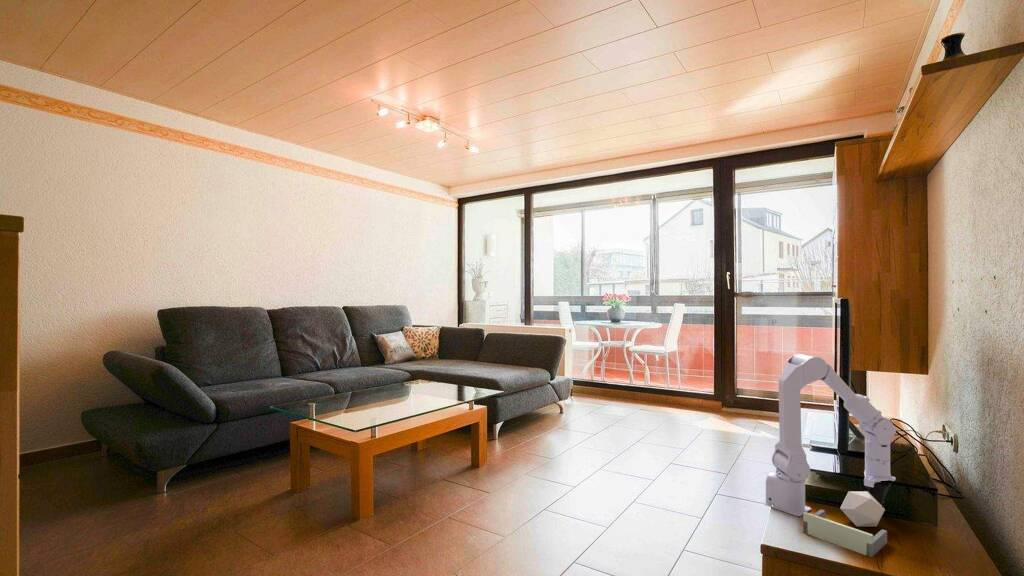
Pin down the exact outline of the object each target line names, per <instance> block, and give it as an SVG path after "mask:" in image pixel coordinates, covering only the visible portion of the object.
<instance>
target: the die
mask: <svg viewBox="0 0 1024 576" xmlns="http://www.w3.org/2000/svg"><path fill="white" fill-rule="evenodd" d="M839 508H840V510H841V511H842V513H843V514H845V515H846V517H847V518H848V519H849V520H850V521H851V522H852V524H854V526H856V527H859V528H860V527H863V528H864V527H875V528H876V527H877V526H878V524H879V522H880V520H881V519H882V517H883V514H884V512H885V511H886V509H885V508H884V506H883V507H882V506H881V505H880V504H879V503H878V502H877V500H876V499H875V498H874V497H873V496H872V495H871V494H870V493H869V492H868V490H867V491H866V490H864V491H853V490H852V491H847V494H846V496H845V498H844V500H843V501H842V504H841V506H840V507H839Z"/></svg>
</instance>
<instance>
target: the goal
mask: <svg viewBox="0 0 1024 576" xmlns="http://www.w3.org/2000/svg"><path fill="white" fill-rule="evenodd" d="M802 518H803V519H802V520H803V525H802V528H803V529H802V530H803V531H802V532H803V533H804V534H807V535H810V536H811V537H815V538H817V539H820V540H823V541H825V542H828V543H831V544H834V545H836V546H839V547H842V548H845V549H848V550H850V551H853V552H856V553H858V554H861V555H864V556H866V557H869V558H873V557H875V555H876V554H877V553H878V552H879V551H880V550H881V549H882V548H883V547H884V546H886V545H887V544H888V530H886V529H880V531H878V532H877V533H876V534H875V535H874V534H872V533H869V532H866V531H863V530H860V529H857V528H854V527H852V526H848V525H845V524H843V523H840V522H836V521H834V520H831V519H828V518H826V510H824V509H819V510H818V511H816V512H815V513H810V512H804V513H803V515H802Z"/></svg>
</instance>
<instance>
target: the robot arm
mask: <svg viewBox="0 0 1024 576" xmlns="http://www.w3.org/2000/svg"><path fill="white" fill-rule="evenodd" d="M817 381H822V382H824V383H825V385H827V386H828V387H829V388H830V389H831V390H832V391H834V393H835V394H836V395H838V397H839V398H840V399H842V400H843V408H844V409H846V411H847V412H848V413H850V414H851V416H852V417H853V418H854V419H855V420H856V421H857V422H859V427H860V429H861V430H863V431H864V471H863V474H864V478H863V485H864V486H865V487H866V489H867V491H868V492H869V493H870V494H871V495H872V496H873V497H874V498H875V499H876V500H877V502H878V503H879V504H880V505H881V506H883V507H884V505H883V503H884V504H885V501H884V499H885V500H886V497H885V496H887V494H886V493H888V491H889V489H890V488H889V487H891V483H886V482H881V481H890V482H894V481H896V480H897V479H896V476H892V475H891V444H892V438H893V437H894V435H895V434H896V432H897V429H896V428H895V426H894V423H893V421H892V420H890V419H889V418H887V417H884V416H883V415H882V411H881V410H880V409H877V408H876V407H875V406H873V404H872V403H870V401H871V399H870V398H869V397H868V396H866V395H863V394H858V393H855V392H854V391H853V390H852V388H850V387H849V386H848V385H847V383H846V381H844V380H843V379H842V377H840V375H839V374H838V373H837V372H836V371H835V369H834V368H833V366H831V365H830V364H829V363H827V362H826V360H825V359H823V358H821V357H819V356H812V355H807V354H804V353H800V352H798V353H795V354H792V356H790V357H788V358H787V359H786V360H785V367H784V369H783V371H782V373H781V374H780V377H779V379H778V414H779V415H778V419H779V421H778V422H779V424H778V425H779V427H778V428H779V441H778V442H777V443H776V444H775V445H774V452H773V453H772V457H771V462H772V465H773V466H774V467H775V468H776V469H775V472H774V471H770V472H769V473H768V474H767V476H766V479H765V502H764V506H767V507H769V508H771V509H772V508H773V509H776V510H779V511H781V512H784V513H786V514H790V515H792V516H795V517H799V518H800V517H801V516H803V513H804V512H807V513H809V511H811V510H812V508H811V507H810V506H807V505H806V480H807V479H808V478H809V476H810V474H811V467H810V465H809V463H808V460H807V454H806V451H805V450H804V448H803V445H802V414H801V413H802V412H801V411H802V410H801V408H802V407H801V404H802V403H801V389H803V388H804V387H805V386H807V385H809V384H811V383H814V382H817ZM772 505H773V507H772Z"/></svg>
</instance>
